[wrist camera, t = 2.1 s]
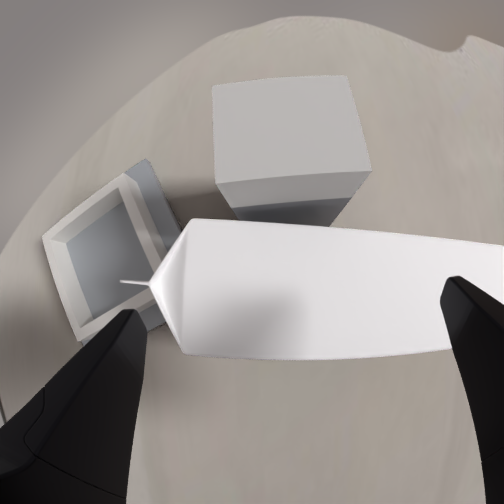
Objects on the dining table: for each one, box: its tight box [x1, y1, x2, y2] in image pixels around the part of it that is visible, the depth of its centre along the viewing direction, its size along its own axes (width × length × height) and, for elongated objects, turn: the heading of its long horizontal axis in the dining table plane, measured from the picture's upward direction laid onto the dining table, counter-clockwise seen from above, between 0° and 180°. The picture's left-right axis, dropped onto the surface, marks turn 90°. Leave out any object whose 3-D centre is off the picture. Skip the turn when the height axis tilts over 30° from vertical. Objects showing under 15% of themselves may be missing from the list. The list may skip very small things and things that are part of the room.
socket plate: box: [42, 159, 182, 346], centre depth 20 cm, size 12×12×3 cm
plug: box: [212, 75, 372, 227], centre depth 15 cm, size 4×5×12 cm
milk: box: [120, 218, 504, 360], centre depth 16 cm, size 6×6×22 cm
